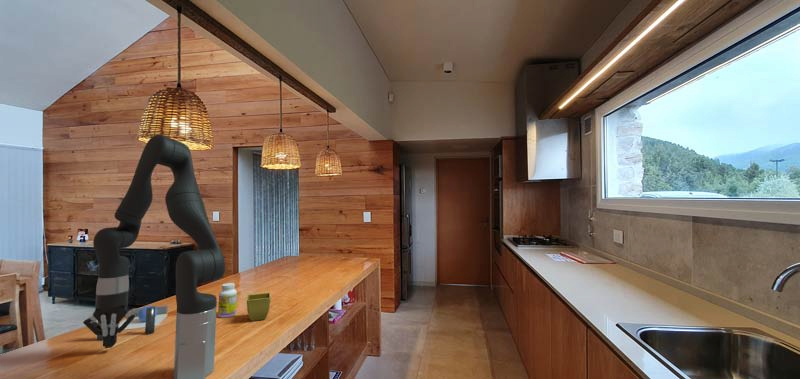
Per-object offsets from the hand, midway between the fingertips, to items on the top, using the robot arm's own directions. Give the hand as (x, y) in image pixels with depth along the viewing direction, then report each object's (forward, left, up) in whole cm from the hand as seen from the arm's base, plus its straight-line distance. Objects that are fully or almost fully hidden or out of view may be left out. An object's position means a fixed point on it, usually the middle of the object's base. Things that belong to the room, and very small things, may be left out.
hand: (109, 346), depth 97 cm
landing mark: (+27, 0, -2) cm, 27 cm away
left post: (+13, +6, -2) cm, 15 cm away
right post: (+13, -6, -2) cm, 15 cm away
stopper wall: (+36, 0, -2) cm, 36 cm away
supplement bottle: (+23, -30, -2) cm, 38 cm away
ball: (+28, -2, +2) cm, 28 cm away
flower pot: (+14, -42, -2) cm, 44 cm away
